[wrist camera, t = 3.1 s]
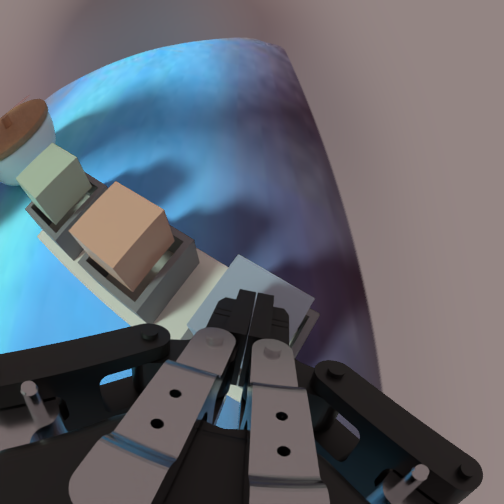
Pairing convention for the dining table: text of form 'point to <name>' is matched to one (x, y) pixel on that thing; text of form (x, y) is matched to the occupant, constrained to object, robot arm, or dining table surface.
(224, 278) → the slate key
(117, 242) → the terracotta key
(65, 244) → the keypad board
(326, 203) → the dining table surface
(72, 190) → the sage key
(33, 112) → the lidded jar
